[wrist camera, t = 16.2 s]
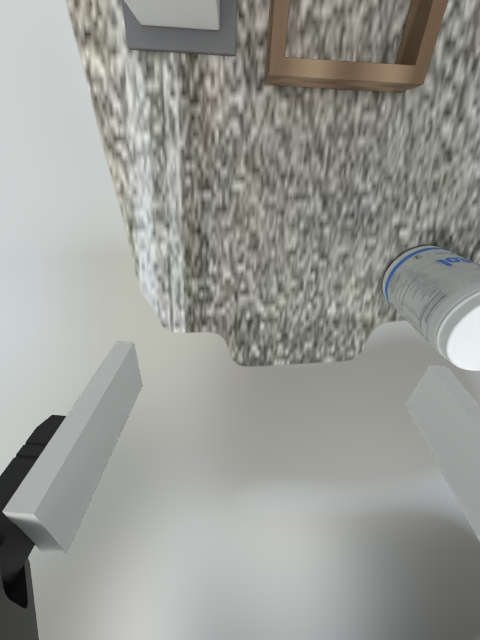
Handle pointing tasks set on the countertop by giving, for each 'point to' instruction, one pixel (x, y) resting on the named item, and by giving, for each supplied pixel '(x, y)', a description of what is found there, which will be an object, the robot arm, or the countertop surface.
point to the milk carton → (177, 13)
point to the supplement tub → (439, 301)
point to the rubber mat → (184, 34)
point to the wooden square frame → (357, 75)
